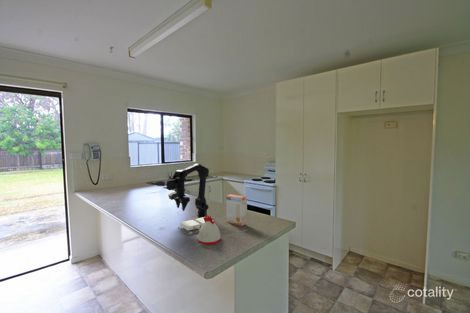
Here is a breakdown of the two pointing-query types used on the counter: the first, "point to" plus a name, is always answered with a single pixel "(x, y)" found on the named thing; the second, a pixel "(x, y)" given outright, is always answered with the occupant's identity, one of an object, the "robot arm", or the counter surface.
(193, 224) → the rocker
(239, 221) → the translucent upright frame
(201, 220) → the block
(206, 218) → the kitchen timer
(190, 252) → the counter surface
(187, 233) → the switch base
